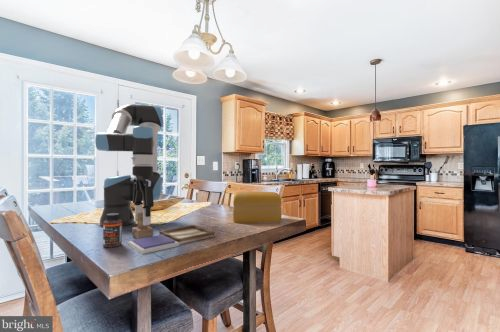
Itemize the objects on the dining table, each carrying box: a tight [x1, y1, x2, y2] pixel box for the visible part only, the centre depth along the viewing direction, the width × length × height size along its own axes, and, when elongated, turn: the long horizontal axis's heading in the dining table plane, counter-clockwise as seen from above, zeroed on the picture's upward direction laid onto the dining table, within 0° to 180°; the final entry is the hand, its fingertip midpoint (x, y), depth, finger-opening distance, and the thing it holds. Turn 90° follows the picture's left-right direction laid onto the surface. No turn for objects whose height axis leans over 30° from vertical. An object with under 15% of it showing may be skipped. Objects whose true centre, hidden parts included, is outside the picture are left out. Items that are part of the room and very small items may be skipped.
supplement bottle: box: [102, 213, 123, 249], centre depth 93 cm, size 6×6×11 cm
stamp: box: [131, 211, 154, 240], centre depth 104 cm, size 6×6×10 cm
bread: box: [232, 191, 283, 224], centre depth 137 cm, size 24×13×15 cm, turn 93°
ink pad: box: [127, 234, 180, 255], centre depth 94 cm, size 13×13×2 cm
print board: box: [158, 224, 215, 245], centre depth 106 cm, size 16×16×2 cm
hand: (142, 222), depth 104 cm, fingers open, 8 cm apart
